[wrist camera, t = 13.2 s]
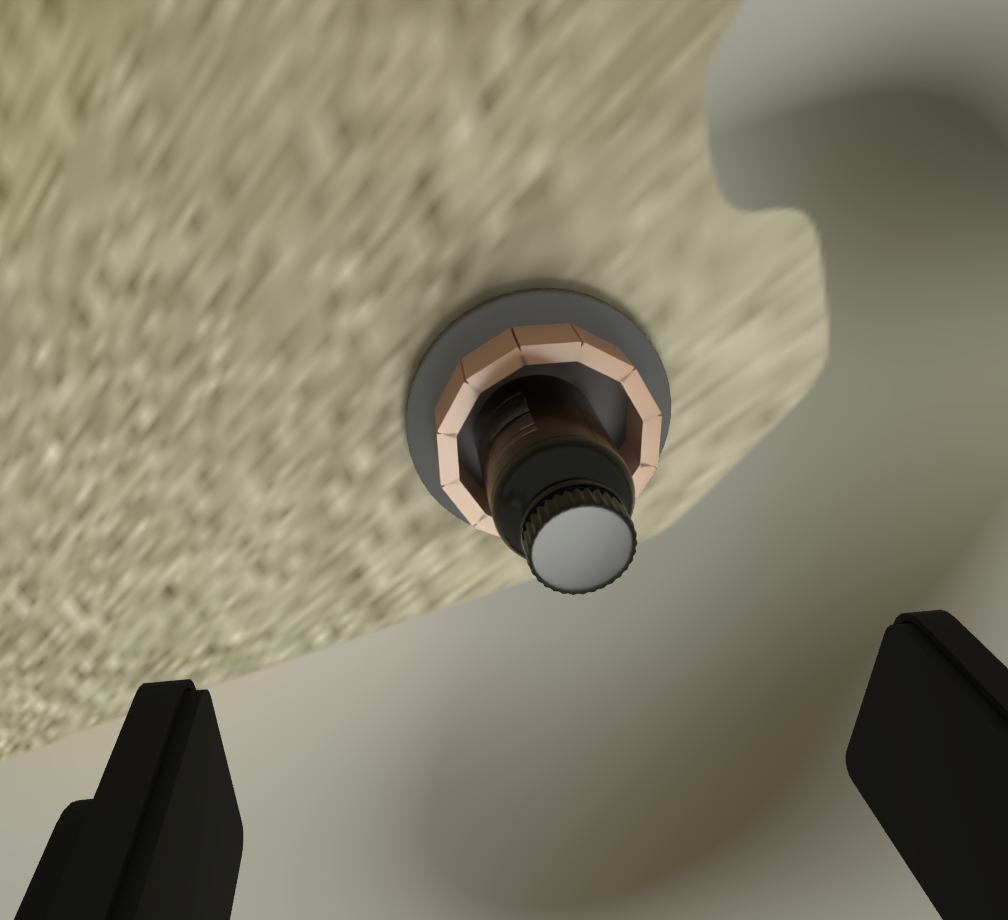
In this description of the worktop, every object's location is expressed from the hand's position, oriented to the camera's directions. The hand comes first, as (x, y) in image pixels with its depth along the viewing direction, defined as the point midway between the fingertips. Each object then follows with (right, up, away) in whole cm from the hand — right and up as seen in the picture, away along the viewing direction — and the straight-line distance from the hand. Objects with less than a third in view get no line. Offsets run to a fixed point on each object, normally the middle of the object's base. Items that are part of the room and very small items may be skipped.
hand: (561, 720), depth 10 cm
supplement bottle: (+1, +6, +31) cm, 32 cm away
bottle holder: (+1, +6, +32) cm, 33 cm away
